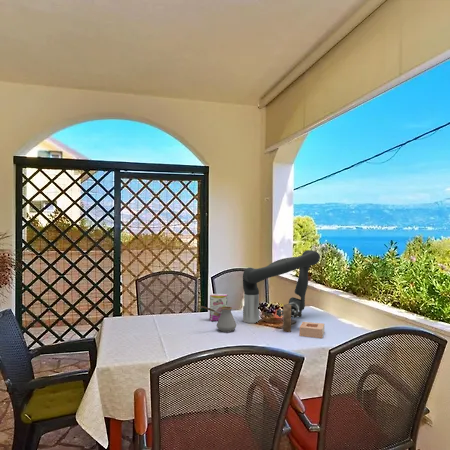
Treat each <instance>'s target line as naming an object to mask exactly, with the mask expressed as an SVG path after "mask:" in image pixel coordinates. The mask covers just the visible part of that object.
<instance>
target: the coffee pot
mask: <svg viewBox="0 0 450 450" xmlns="http://www.w3.org/2000/svg"><path fill="white" fill-rule="evenodd" d="M199 309H200V310H201V309H205V310H207V311H209V312H210V311H213V312H217V313H219V314H221V315H220V318H219V320H218V321H217V323H216V328H217V329H218V330H219V331H220V332H223V333H230V332H234V330H235V329H236V328H237V323H236V320H235V318H234V316H233V313H232V309H233V307H231V306H228V307H221V309H222V313H221V312H218V311H215V310H213V309H210V307H208V306H207V307H206V306H205V305H204V306H203V305H200V307H199Z"/></svg>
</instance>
